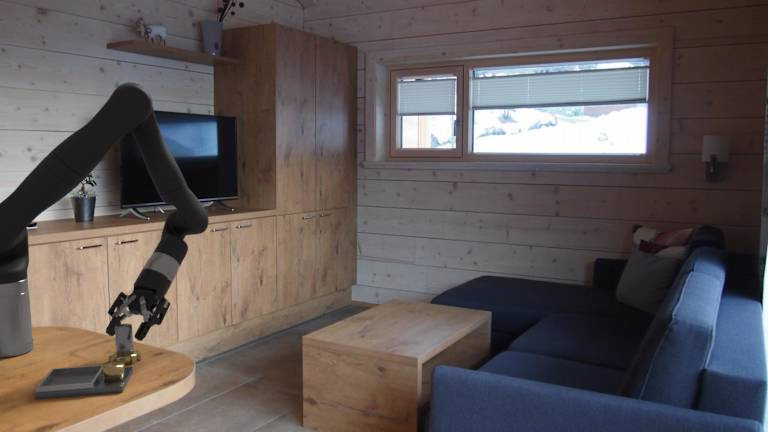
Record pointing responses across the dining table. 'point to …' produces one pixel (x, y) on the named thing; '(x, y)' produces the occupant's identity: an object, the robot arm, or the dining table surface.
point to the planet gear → (124, 346)
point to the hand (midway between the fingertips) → (123, 336)
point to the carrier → (84, 381)
